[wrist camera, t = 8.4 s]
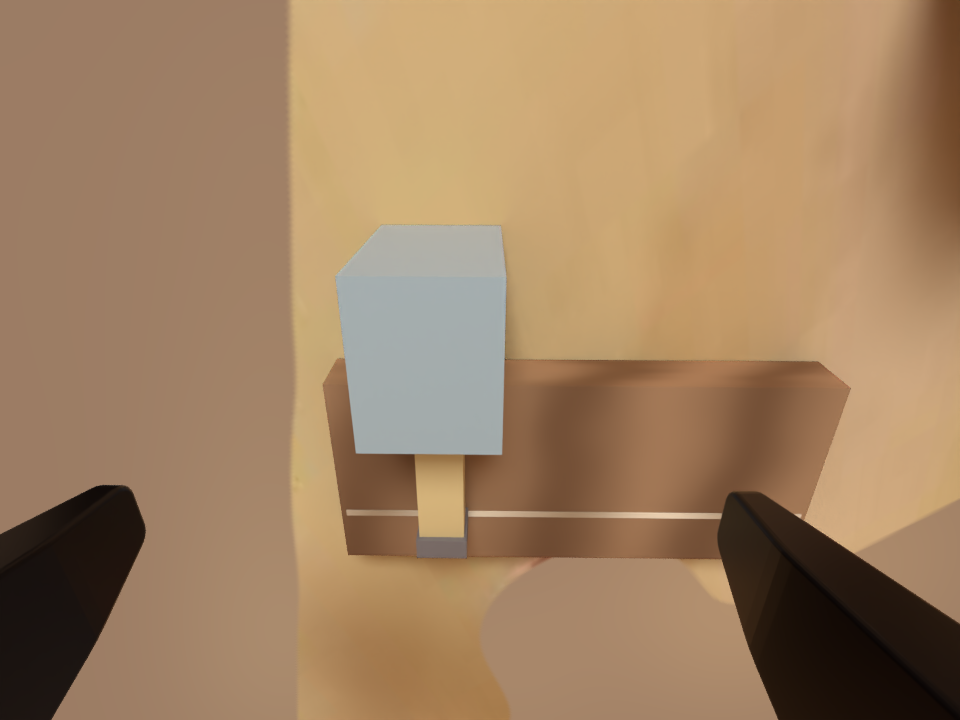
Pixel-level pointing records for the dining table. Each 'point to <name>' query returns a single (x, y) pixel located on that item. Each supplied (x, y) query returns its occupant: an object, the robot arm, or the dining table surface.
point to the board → (607, 458)
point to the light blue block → (428, 360)
